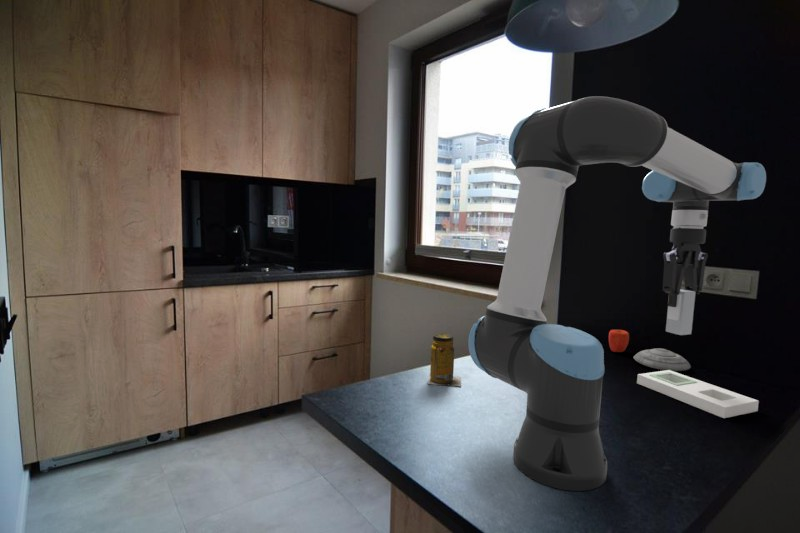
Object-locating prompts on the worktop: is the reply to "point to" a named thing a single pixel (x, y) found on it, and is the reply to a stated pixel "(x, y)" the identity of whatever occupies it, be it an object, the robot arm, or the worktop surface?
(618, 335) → the apple
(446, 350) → the condiment
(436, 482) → the worktop surface
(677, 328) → the plug
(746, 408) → the panel
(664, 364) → the flying saucer
